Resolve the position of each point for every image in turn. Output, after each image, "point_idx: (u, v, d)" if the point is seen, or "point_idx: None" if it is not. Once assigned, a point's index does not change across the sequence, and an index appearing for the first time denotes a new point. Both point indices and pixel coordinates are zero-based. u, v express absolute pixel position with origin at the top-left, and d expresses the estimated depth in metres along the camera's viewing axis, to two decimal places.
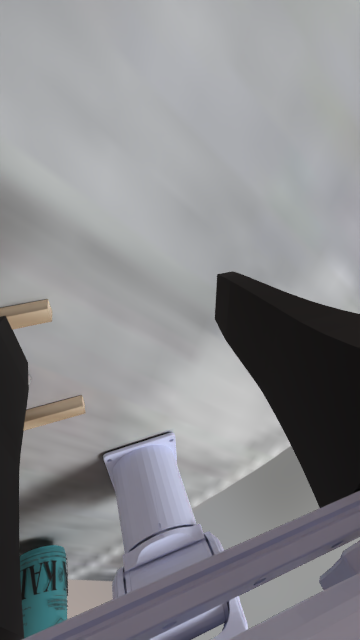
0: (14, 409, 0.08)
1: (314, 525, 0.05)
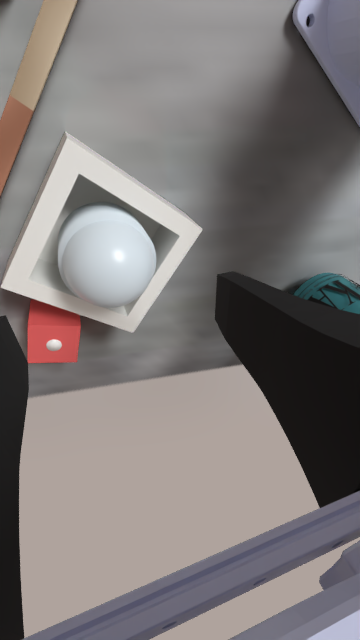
0: (14, 409, 0.08)
1: (315, 525, 0.05)
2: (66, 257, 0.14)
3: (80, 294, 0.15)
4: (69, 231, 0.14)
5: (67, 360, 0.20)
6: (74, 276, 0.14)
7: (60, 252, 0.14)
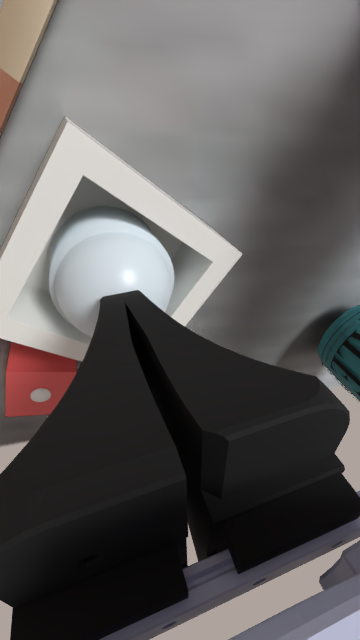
0: None
1: None
2: (60, 278, 0.11)
3: (77, 326, 0.11)
4: (65, 244, 0.11)
5: None
6: (70, 304, 0.10)
7: (52, 271, 0.11)
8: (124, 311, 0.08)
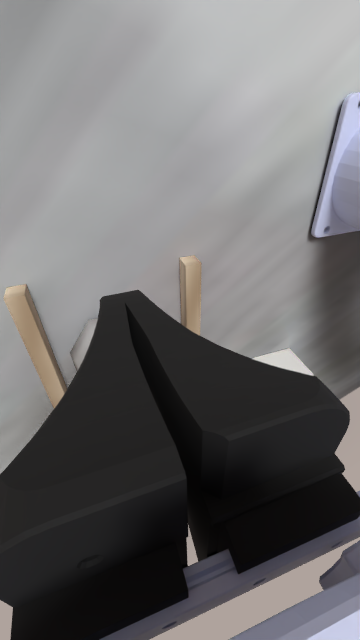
0: None
1: None
2: None
3: None
4: None
5: None
6: None
7: None
8: (124, 311, 0.08)
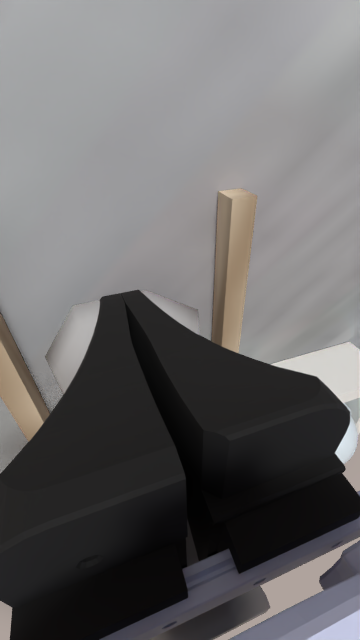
0: None
1: None
2: None
3: None
4: None
5: None
6: None
7: None
8: (124, 311, 0.08)
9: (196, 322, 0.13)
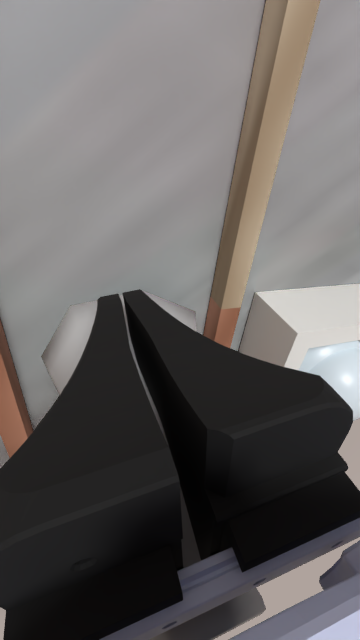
0: None
1: None
2: None
3: None
4: None
5: None
6: None
7: None
8: (121, 312, 0.08)
9: (193, 324, 0.13)
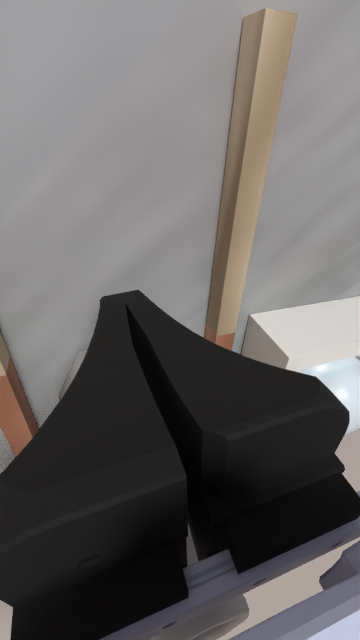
0: None
1: None
2: None
3: None
4: None
5: None
6: None
7: None
8: (124, 311, 0.08)
9: None
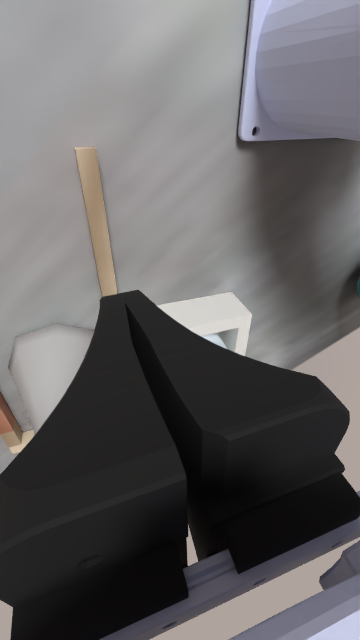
0: None
1: None
2: None
3: None
4: None
5: None
6: None
7: None
8: (124, 311, 0.08)
9: None
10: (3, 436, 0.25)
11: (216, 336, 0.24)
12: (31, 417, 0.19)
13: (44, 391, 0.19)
